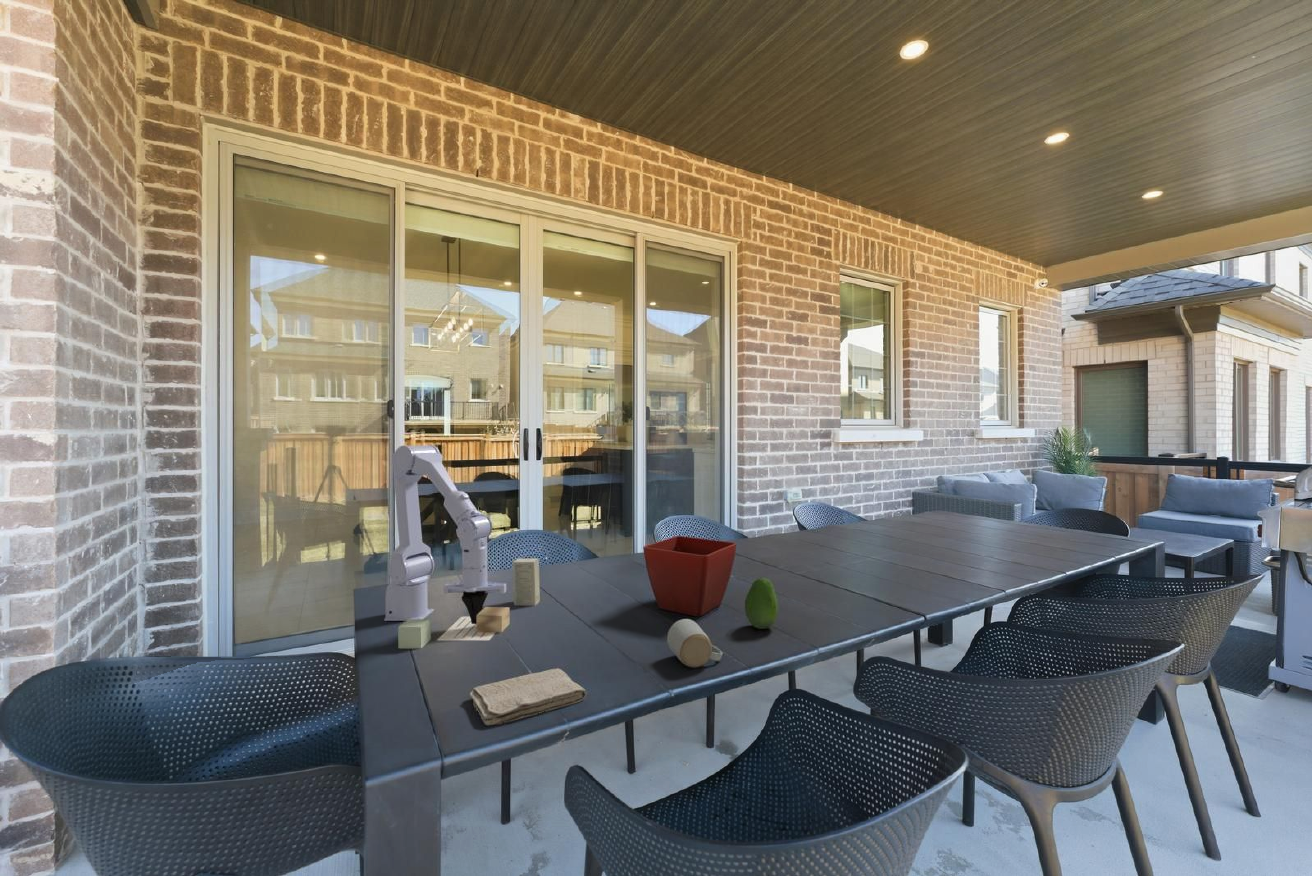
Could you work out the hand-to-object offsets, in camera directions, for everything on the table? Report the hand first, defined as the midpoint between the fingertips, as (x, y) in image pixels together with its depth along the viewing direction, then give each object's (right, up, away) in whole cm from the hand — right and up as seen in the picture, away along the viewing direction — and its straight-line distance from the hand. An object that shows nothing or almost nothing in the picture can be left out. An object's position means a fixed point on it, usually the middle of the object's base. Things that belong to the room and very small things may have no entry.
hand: (475, 622), depth 133 cm
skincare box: (+8, -1, +19) cm, 21 cm away
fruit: (+69, -1, 0) cm, 69 cm away
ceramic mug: (+52, -2, -19) cm, 55 cm away
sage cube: (-10, -2, -10) cm, 14 cm away
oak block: (+4, -1, 0) cm, 4 cm away
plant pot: (+53, -1, +16) cm, 55 cm away
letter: (0, -1, 0) cm, 1 cm away
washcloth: (+21, -3, -35) cm, 41 cm away
